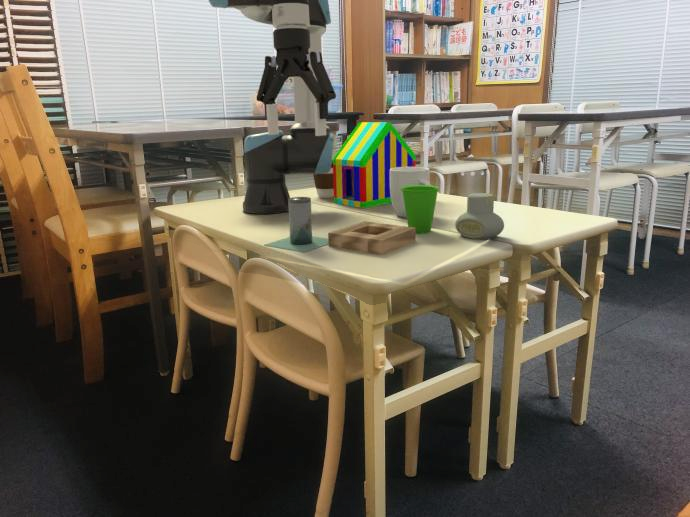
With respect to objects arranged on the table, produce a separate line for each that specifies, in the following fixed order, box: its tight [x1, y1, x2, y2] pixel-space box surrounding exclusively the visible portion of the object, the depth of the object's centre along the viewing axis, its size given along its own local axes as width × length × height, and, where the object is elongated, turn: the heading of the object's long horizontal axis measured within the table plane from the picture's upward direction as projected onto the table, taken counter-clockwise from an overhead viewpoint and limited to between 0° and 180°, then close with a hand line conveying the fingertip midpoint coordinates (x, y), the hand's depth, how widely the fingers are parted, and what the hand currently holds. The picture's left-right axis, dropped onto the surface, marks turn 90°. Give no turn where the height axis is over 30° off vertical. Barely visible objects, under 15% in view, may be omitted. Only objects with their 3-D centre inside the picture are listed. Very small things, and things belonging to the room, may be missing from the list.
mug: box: [390, 166, 433, 219], centre depth 150 cm, size 15×11×13 cm
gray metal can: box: [288, 196, 313, 245], centre depth 123 cm, size 5×5×10 cm
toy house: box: [332, 121, 417, 209], centre depth 176 cm, size 24×14×25 cm, turn 133°
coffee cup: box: [312, 159, 334, 199], centre depth 187 cm, size 11×11×12 cm
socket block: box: [327, 221, 417, 256], centre depth 122 cm, size 14×14×4 cm
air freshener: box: [454, 192, 505, 240], centre depth 126 cm, size 11×8×10 cm
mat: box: [263, 235, 329, 253], centre depth 124 cm, size 12×12×1 cm
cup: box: [401, 185, 440, 234], centre depth 131 cm, size 9×9×11 cm
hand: (296, 135), depth 118 cm, fingers open, 13 cm apart
